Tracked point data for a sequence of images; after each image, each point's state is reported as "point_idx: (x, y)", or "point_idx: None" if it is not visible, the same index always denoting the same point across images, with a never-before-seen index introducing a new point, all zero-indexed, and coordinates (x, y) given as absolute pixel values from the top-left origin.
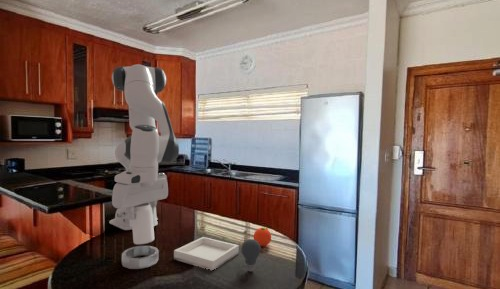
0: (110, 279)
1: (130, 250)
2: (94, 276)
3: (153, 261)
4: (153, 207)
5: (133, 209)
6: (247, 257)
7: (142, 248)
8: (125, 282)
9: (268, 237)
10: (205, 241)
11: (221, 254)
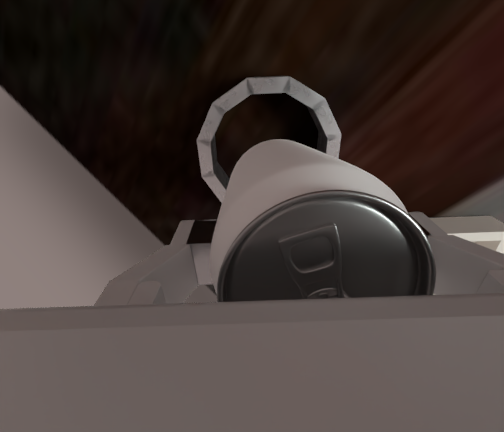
0: (131, 178)
1: (264, 92)
2: (99, 118)
3: None
4: None
5: (218, 265)
6: None
7: (314, 112)
8: (154, 222)
9: None
10: (487, 241)
11: None
